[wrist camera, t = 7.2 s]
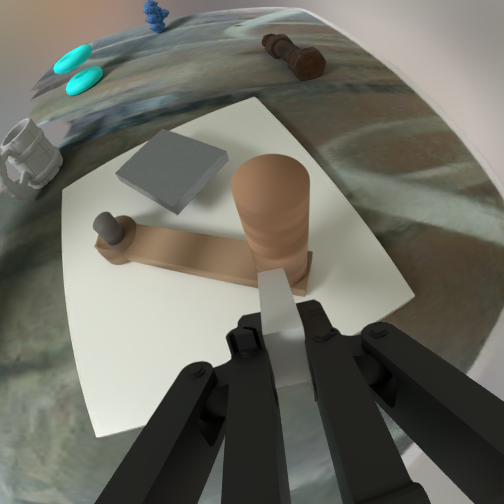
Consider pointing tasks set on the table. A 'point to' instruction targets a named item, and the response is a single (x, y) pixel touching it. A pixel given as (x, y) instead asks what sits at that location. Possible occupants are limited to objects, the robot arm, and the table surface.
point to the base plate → (195, 287)
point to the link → (227, 249)
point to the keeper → (172, 169)
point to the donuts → (84, 77)
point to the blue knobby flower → (155, 16)
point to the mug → (28, 159)
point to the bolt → (295, 56)
